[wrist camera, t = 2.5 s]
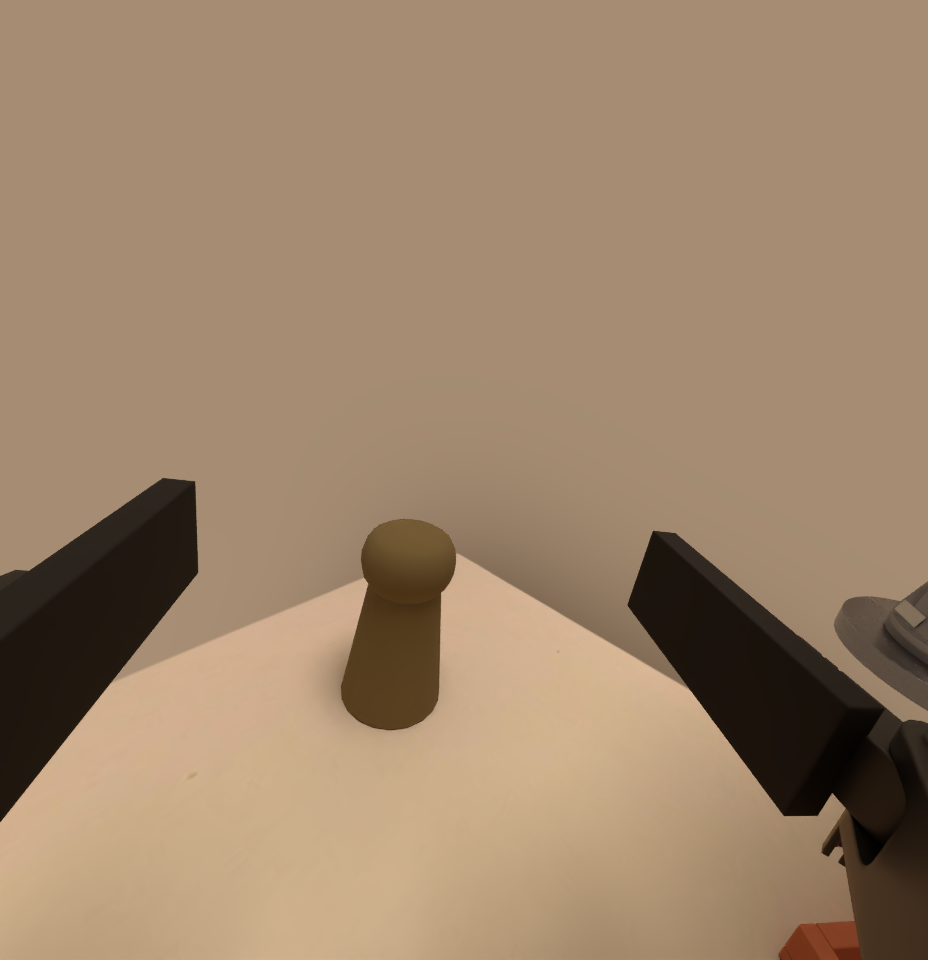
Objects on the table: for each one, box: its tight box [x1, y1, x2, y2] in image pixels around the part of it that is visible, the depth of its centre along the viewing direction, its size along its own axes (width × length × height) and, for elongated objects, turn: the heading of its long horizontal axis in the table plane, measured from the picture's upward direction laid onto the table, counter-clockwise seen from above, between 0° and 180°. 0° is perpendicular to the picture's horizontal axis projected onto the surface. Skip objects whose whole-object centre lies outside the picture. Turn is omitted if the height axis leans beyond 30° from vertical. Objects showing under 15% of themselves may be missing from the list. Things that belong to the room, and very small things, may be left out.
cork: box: [341, 519, 456, 730], centre depth 26 cm, size 6×6×11 cm
